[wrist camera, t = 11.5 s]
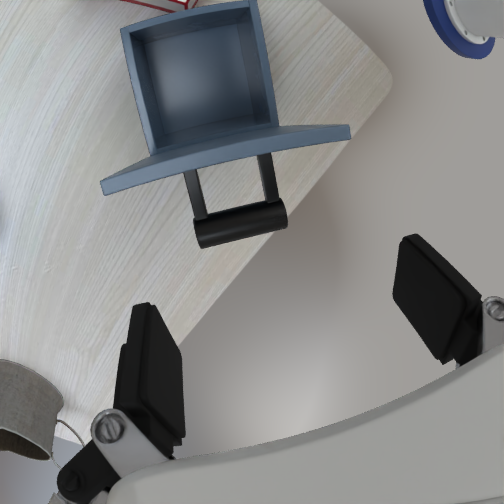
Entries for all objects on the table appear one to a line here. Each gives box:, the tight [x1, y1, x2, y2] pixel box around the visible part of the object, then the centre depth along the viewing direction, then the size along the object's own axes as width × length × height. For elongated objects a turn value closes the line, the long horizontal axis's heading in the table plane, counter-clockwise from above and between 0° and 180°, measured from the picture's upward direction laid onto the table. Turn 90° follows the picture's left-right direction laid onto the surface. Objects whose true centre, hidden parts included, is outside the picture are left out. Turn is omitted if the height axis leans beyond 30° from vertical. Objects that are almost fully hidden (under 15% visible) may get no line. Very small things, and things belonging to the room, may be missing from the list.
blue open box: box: [120, 0, 279, 156], centre depth 27 cm, size 14×13×10 cm
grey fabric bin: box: [0, 360, 85, 470], centre depth 46 cm, size 23×32×25 cm
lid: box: [100, 125, 351, 249], centre depth 21 cm, size 14×13×5 cm
